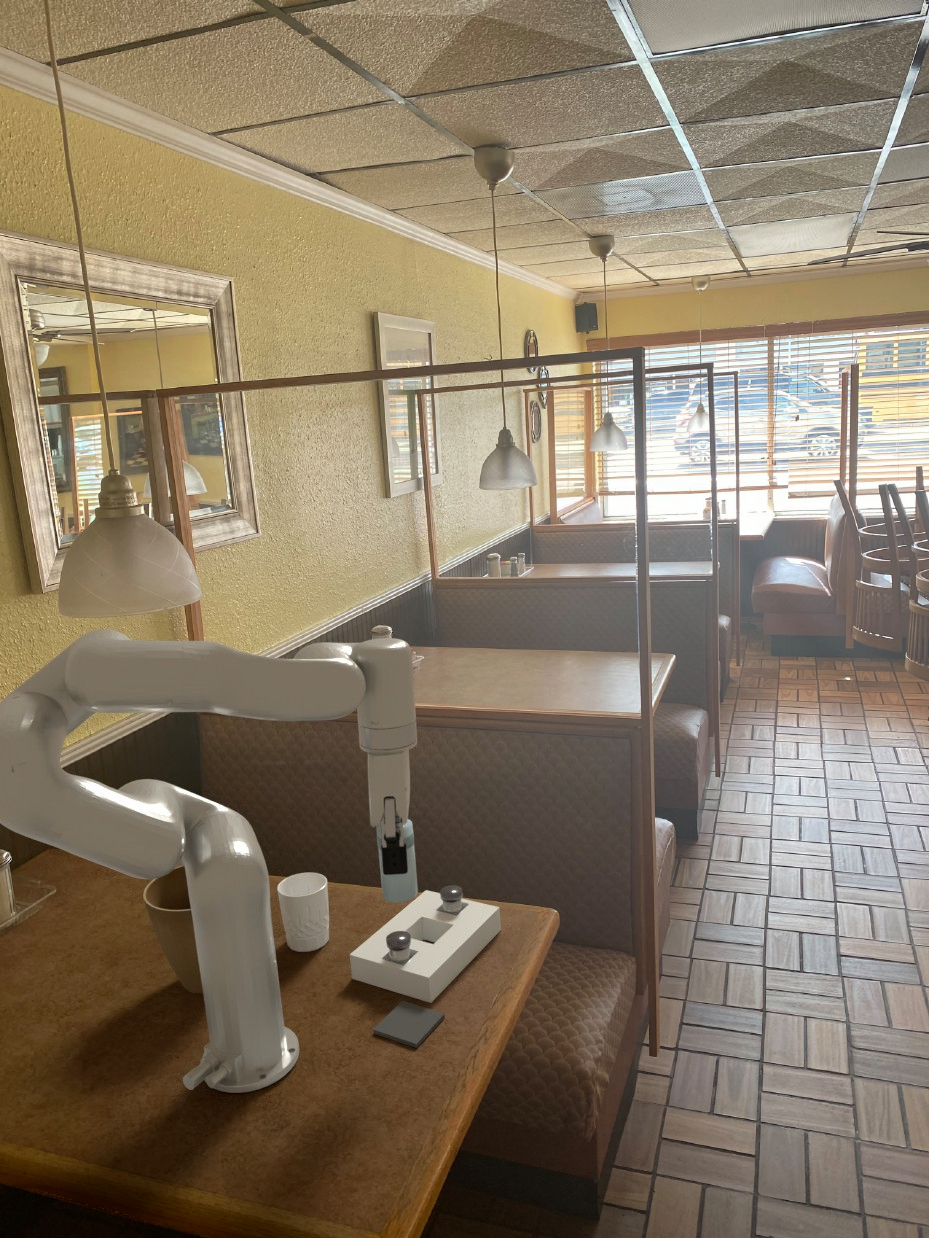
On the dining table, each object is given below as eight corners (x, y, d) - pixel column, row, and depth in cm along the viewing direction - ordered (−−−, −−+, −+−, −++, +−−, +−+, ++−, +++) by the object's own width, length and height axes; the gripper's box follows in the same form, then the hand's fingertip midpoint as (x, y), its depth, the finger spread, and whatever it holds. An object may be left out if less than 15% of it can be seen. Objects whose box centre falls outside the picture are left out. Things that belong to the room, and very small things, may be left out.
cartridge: (381, 904, 122) (375, 835, 119) (382, 885, 127) (376, 818, 124) (418, 901, 122) (412, 832, 120) (418, 882, 127) (413, 815, 124)
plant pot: (136, 996, 136) (120, 897, 133) (206, 944, 149) (194, 853, 146) (211, 1020, 129) (197, 917, 126) (278, 964, 142) (267, 869, 139)
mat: (416, 1047, 121) (416, 1043, 121) (373, 1033, 124) (373, 1029, 124) (444, 1017, 127) (444, 1013, 126) (402, 1004, 130) (402, 1000, 130)
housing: (431, 1002, 130) (428, 977, 129) (352, 978, 137) (349, 954, 136) (500, 929, 148) (499, 907, 147) (427, 911, 155) (426, 889, 154)
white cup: (338, 927, 152) (332, 871, 150) (326, 954, 144) (320, 896, 142) (291, 927, 153) (285, 872, 151) (277, 954, 145) (270, 896, 143)
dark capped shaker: (457, 932, 146) (455, 898, 145) (438, 927, 148) (435, 893, 147) (468, 921, 149) (466, 887, 148) (450, 916, 151) (447, 883, 150)
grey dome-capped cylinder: (404, 983, 134) (401, 946, 132) (384, 977, 135) (381, 940, 134) (418, 970, 137) (415, 934, 135) (398, 964, 138) (395, 928, 137)
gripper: (364, 715, 128) (372, 837, 131) (353, 757, 111) (363, 896, 115) (418, 712, 128) (425, 834, 131) (415, 754, 111) (423, 892, 115)
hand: (396, 862), depth 123 cm, fingers closed on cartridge, 4 cm apart
